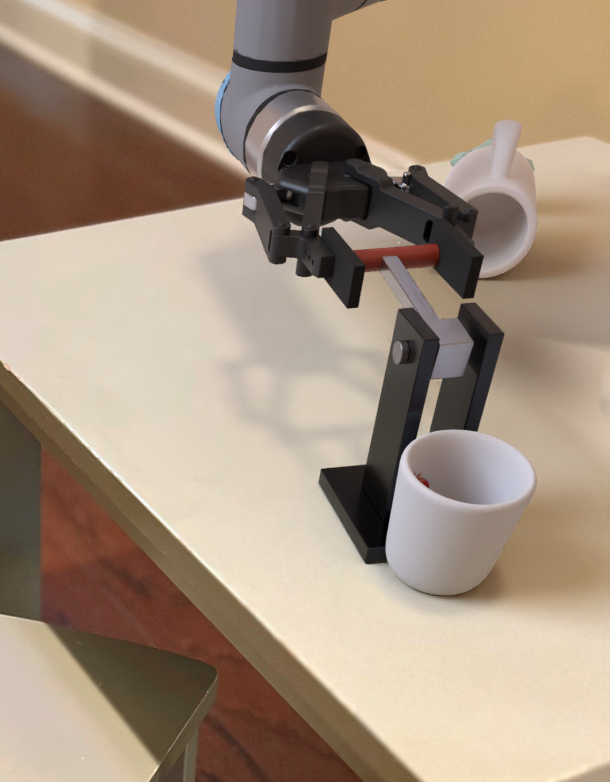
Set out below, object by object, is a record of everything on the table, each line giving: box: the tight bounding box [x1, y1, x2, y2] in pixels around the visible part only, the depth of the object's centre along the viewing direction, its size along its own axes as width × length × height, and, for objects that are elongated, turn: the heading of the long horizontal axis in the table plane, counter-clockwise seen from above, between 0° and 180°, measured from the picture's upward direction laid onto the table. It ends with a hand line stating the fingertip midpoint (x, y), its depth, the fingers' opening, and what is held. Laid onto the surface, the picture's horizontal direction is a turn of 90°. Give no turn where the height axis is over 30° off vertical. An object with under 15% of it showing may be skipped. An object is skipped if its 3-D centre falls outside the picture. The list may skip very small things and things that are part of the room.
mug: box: [442, 119, 539, 279], centre depth 107 cm, size 8×10×12 cm
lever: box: [352, 244, 474, 381], centre depth 75 cm, size 13×7×2 cm, turn 8°
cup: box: [386, 430, 538, 596], centre depth 74 cm, size 11×8×8 cm
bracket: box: [317, 301, 505, 564], centre depth 76 cm, size 10×9×14 cm
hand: (414, 282), depth 75 cm, fingers closed on lever, 7 cm apart
